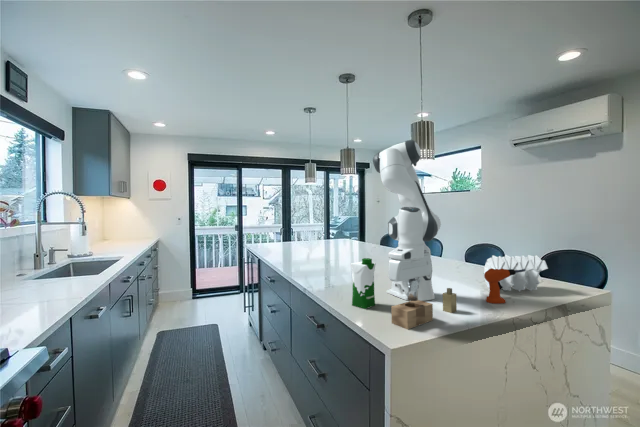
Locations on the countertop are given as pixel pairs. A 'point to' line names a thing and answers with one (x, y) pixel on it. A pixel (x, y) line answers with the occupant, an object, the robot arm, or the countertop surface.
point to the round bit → (413, 290)
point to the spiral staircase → (521, 278)
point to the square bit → (449, 301)
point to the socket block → (412, 314)
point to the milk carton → (363, 283)
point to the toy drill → (497, 283)
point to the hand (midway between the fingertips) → (411, 290)
